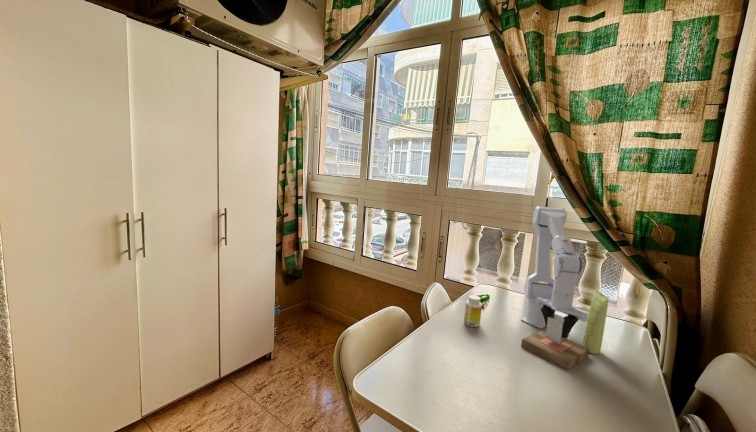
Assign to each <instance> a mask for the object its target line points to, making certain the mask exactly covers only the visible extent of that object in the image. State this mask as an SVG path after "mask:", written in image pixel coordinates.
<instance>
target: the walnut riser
mask: <svg viewBox="0 0 756 432" xmlns="http://www.w3.org/2000/svg"><path fill="white" fill-rule="evenodd" d="M545 335H546V328H542V329H541V330H539V331H537V332H535V333H532V334H530V335H528V336H526V337H524V338H522V339H521V346H520V347H521V348H523V349H525V350H527V351H528V352H531V353H533V354H535V355H537V356H539V357H541V358H543V359H545V360H547V361H549V362H551V363H552V364H554V365H556V366H559V367H560V368H562V369H565V370H566V371H567V370H569V369H571V368H573V367H574V366H575V365H577V364H579V363H580V362H581V361H583V360H584V359H586V358H587V357H589V353H590V352H589V349H588V348H586V347H584V346H582V344H579V343H577V342H575V341H572V340H570V339H568V338H567V341H565V342H563V343H562V344H558V343H556V342H553V341H551V340H549V339H547V338H545Z"/></svg>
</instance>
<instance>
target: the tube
mask: <svg viewBox="0 0 756 432" xmlns="http://www.w3.org/2000/svg"><path fill="white" fill-rule="evenodd" d="M609 299H610V298H609V297H608V296H606V295H605V294H603V293H602V292H600V291H599V290H597V288H595V289H594V292H593V296H592V299H591V303H590V308H589V312H588V319H587V321H586V325H585V329H584V335H583V340H582V344H581V345H582V346H584V347H586V348H588V349H589V353H590V354H595V355H598V354H600V353H601V351H602V350H601V349H602V348H601V347H602V344H603V340H604V339H603V338H604V332H605V325H606V322H607V321H606V320H607V312H608V308H609V307H608V306H609Z"/></svg>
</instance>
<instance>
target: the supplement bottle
mask: <svg viewBox="0 0 756 432" xmlns="http://www.w3.org/2000/svg"><path fill="white" fill-rule="evenodd" d="M482 308H483V304H482V302H481V297H480V296H478V295H473V294H471V295H469V296H468V300H467V301H465V307H464V309H465V310H464V318H463V319H464V320H463V323H464V324H465V325H466V326H468V327H472V328H477V327H479V326H480V325H481V317H482Z"/></svg>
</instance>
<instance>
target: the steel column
mask: <svg viewBox="0 0 756 432" xmlns="http://www.w3.org/2000/svg"><path fill="white" fill-rule="evenodd" d="M564 317H565V316H561V315H558V314H556V313H554V315H551V316H549V317H548V321H547V328H546V327H545V330H546V335H545V338H547V339H549V340H551V341H553V342H556V343H558V344H562V343H563V342H565V341H567V339H568V337H567V338H563V331H564Z"/></svg>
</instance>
